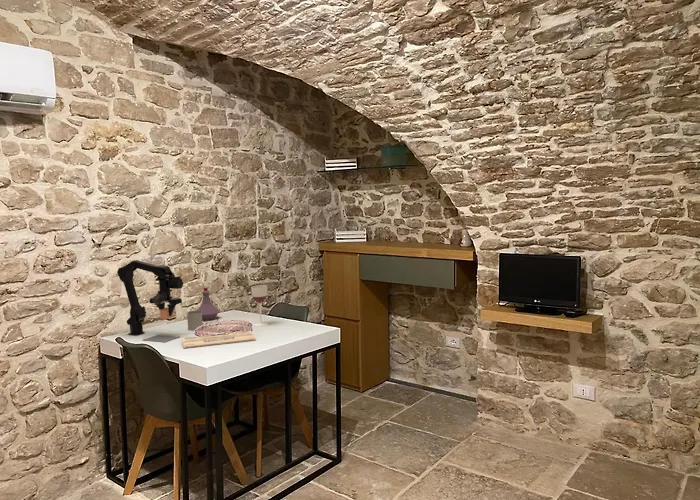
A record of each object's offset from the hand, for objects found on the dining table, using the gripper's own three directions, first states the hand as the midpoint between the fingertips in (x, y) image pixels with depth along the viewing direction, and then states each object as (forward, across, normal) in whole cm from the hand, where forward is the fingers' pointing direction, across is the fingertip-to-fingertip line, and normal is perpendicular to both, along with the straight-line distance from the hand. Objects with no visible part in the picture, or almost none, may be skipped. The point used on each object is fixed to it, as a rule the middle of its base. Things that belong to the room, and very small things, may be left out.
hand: (166, 315), depth 312 cm
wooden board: (+12, +37, -3) cm, 39 cm away
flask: (+11, -5, +42) cm, 44 cm away
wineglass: (+11, +38, +38) cm, 55 cm away
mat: (+11, +2, -8) cm, 14 cm away
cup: (+11, +6, +17) cm, 21 cm away
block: (+1, 0, 0) cm, 1 cm away
